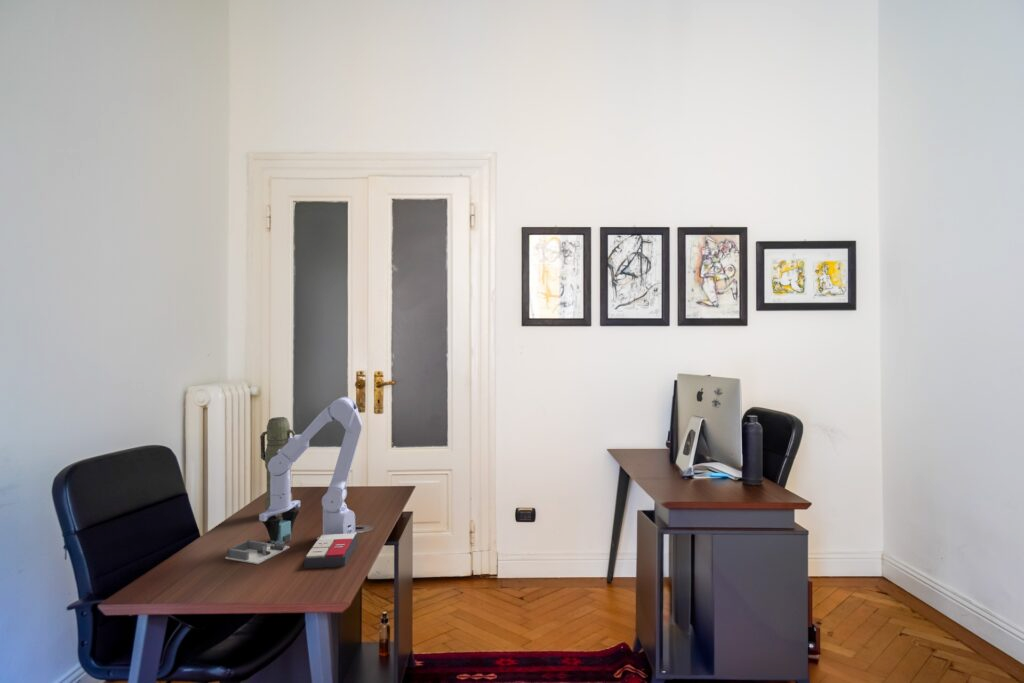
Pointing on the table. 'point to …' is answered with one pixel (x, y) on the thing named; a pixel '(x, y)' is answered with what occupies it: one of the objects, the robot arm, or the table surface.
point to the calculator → (331, 551)
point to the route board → (263, 553)
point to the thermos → (274, 446)
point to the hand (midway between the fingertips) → (280, 536)
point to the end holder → (240, 549)
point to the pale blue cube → (284, 531)
